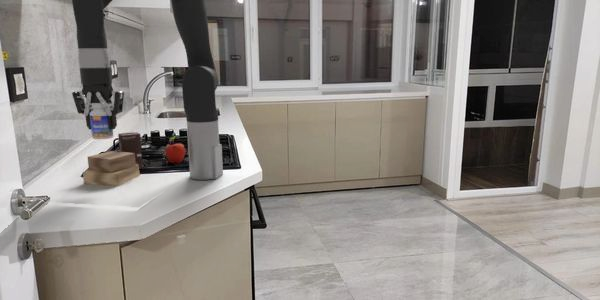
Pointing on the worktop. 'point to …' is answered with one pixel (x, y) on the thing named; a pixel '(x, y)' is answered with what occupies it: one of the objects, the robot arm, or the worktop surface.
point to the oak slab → (111, 176)
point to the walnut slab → (111, 161)
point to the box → (131, 145)
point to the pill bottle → (99, 122)
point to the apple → (175, 152)
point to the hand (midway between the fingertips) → (102, 128)
